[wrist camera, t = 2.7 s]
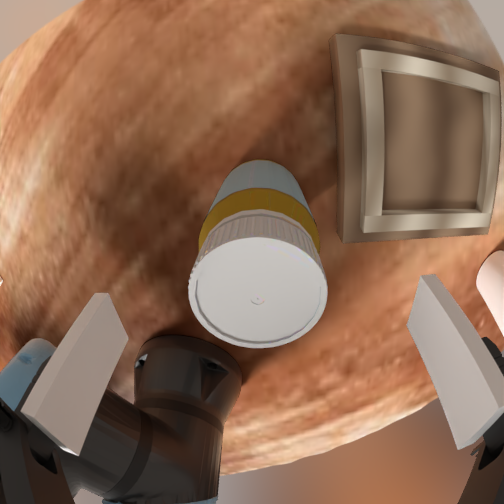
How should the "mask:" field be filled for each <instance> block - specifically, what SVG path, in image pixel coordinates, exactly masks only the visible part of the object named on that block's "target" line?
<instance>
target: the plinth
mask: <svg viewBox="0 0 504 504" xmlns="http://www.w3.org/2000/svg"><path fill="white" fill-rule="evenodd" d="M329 47H330V56H331V65H332V75H333V87H334V100H335V116H336V138H337V234H338V235H339V237H340V239H341V241H342V243H359V242H374V241H390V240H406V239H422V238H438V237H454V236H470V235H486V234H488V232H489V227H490V223H491V218H492V213H493V207H494V201H495V195H496V188H497V181H498V172H499V162H500V148H501V90H500V77H499V71H497V70H495V69H492V68H490V67H487V66H485V65H482V64H479V63H477V62H474V61H471V60H468V59H465V58H462V57H459V56H456V55H453V54H449V53H446V52H442V51H439V50H435V49H431V48H427V47H423V46H419V45H414V44H409V43H405V42H399V41H394V40H388V39H382V38H375V37H367V36H358V35H348V34H335V35H334V36H333V37H332V38H330V39H329Z"/></svg>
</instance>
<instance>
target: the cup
mask: <svg viewBox="0 0 504 504" xmlns="http://www.w3.org/2000/svg"><path fill="white" fill-rule="evenodd" d="M476 285H477V288H478V290H479V292H480V293H481V295H482V297H483V299H484V300H485V302H486V304H487V306H488V307H489V309H490V311H491V313H492V315H493V317H494V318H495V320H496V322H497V324H498V326H499V328H500V330H501V332H502V334H503V336H504V251H501V250H500V251H496V252H494V253H492V254H491V255H490V256H489V257H488V258H487V259H486V260H485V261H484V263H483V264H482V266H481V268H480V270H479V272H478V275H477V280H476Z"/></svg>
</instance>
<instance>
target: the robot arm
mask: <svg viewBox="0 0 504 504" xmlns="http://www.w3.org/2000/svg"><path fill="white" fill-rule="evenodd" d="M407 327H408V329H409V332H410V334H411V336H412V338H413V340H414V342H415V344H416V346H417V348H418V350H419V352H420V355H421V357H422V359H423V361H424V363H425V366H426V368H427V370H428V372H429V375H430V377H431V379H432V382H433V384H434V387H435V389H436V391H437V394H438V396H439V399H440V401H441V404H442V407H443V409H444V412H445V414H446V417H447V420H448V423H449V426H450V428H451V431H452V434H453V437H454V440H455V443H456V446H457V449H458V450H459V449H461V448H464V447H466V446H468V445H470V444H473V443H474V442H475V441H476V440H477V439H479V438H480V437H481V436H482V435H483V437H484V441H483V442H482V443H480V444H479V445H478V446H477V447H476V448H475V449H474V450H473V451H472V453H471V455H474V454H475V453H476V452H477V451H479V452H478V454H477V455H476V457H477V458H476V461H475V464H474V466H473V469H472V472H471V474H470V477H469V479H468V482H467V484H466V486H465V489H464V491H463V493H462V496H461V498H460V500H459V502H458V504H504V357H502V354H501V352H500V351H499V349H498V348H497V346H496V345H495V344H494V343H493V342H492V341H491V340H490V339H488V338H487V337H484V338H480V336H479V334H478V333H477V331H476V330H475V328H474V327H473V325H472V324H471V322H470V321H469V319H468V318H467V317H466V315H465V314H464V312H463V311H462V309H461V308H460V307H459V305H458V304H457V302H456V301H455V300H454V298H453V297H452V296H451V294H450V293H449V292H448V290H447V289H446V288H445V286H444V285H443V284H442V282H441V281H440V280H439V279H438V277H437V276H436V275H435V274H431V275H422V276H420V279H419V283H418V287H417V291H416V295H415V299H414V302H413V306H412V309H411V313H410V316H409V319H408V323H407ZM128 339H129V338H128V336H127V334H126V331H125V329H124V327H123V325H122V323H121V321H120V319H119V316H118V314H117V312H116V310H115V307H114V305H113V303H112V300H111V298H110V296H109V293H95V294H94V295H93V296H92V298H91V299H90V301H89V302H88V303H87V305H86V306H85V308H84V309H83V310H82V312H81V313H80V315H79V316H78V317H77V319H76V320H75V322H74V323H73V325H72V326H71V328H70V329H69V331H68V332H67V334H66V335H65V337H64V338H63V340H62V341H61V343H60V344H59V346H58V347H57V348H56V347H55V346H54V345H53V344H52V343H50V342H49V341H47V340H45V339H42V338H35V339H32V340H30V341H29V342H27V343H26V344H25V345H24V346H23V347H22V348H21V350H20V351H19V352H18V353H17V354H16V355H15V356H14V357H13V358H12V359H11V360H10V362H9V363H8V364H7V365H6V366H5V367H4V368H3V370H2V371H1V372H0V504H75V502H74V500H73V498H74V497H75V495H76V494H77V492H78V491H79V490H80V489H81V488H83V489H85V490H87V491H89V492H91V493H94V494H96V495H98V496H100V497H103V498H104V499H103V500H102V503H103V504H216V501H217V500H218V485H219V474H220V462H221V450H222V438H223V429H224V424H225V422H226V420H227V418H228V416H229V414H230V412H231V410H232V409H233V407H234V405H235V403H236V401H237V399H238V397H239V395H240V391H241V383H242V373H241V369H240V367H239V365H238V364H237V362H236V361H235V360H234V359H233V358H232V357H231V356H230V355H229V354H228V353H227V352H225V351H224V350H222V349H221V348H219V347H217V346H215V345H213V344H211V343H209V342H206V341H203V340H200V339H197V338H193V337H188V336H179V335H167V336H160V337H156V338H154V339H151V340H149V341H148V342H146V343H145V344H144V345H143V346H142V347H141V349H140V351H139V353H138V356H137V358H136V361H135V365H134V397H135V401H134V405H133V404H131V403H130V402H128V401H127V400H125V399H124V398H122V397H121V396H119V395H118V394H116V393H115V392H113V391H112V390H111V389H109V388H108V387H107V385H108V382H109V380H110V378H111V376H112V373H113V371H114V369H115V367H116V365H117V362H118V360H119V358H120V356H121V354H122V352H123V350H124V348H125V345H126V343H127V341H128Z"/></svg>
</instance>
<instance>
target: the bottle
mask: <svg viewBox="0 0 504 504" xmlns="http://www.w3.org/2000/svg"><path fill="white" fill-rule="evenodd" d="M319 252H320V240H319V234H318V230H317V226H316V223H315V221H314V218H313V216H312V214H311V211H310V209H309V207H308V204H307V202H306V200H305V198H304V195H303V193H302V191H301V189H300V187H299V184H298V182H297V181H296V179H295V178H294V176H293V175H292V173H291V172H290V171H289V170H287V169H286V168H285V167H284V166H282V165H281V164H279V163H276V162H273V161H271V160H262V159H256V160H251V161H247V162H244V163H242V164H240V165H239V166H237V167H236V168H234V169H233V170H232V171H231V172H230V174H229V175H228V176H227V177H226V179H225V180H224V182H223V184H222V186H221V188H220V190H219V192H218V194H217V196H216V198H215V200H214V202H213V204H212V206H211V208H210V210H209V212H208V214H207V216H206V218H205V220H204V223H203V226H202V229H201V232H200V235H199V254H198V257H197V259H196V261H195V264H194V267H193V269H192V272H191V274H190V279H189V286H188V289H189V292H188V294H189V301H190V305H191V308H192V310H193V312H194V314H195V316H196V318H197V319H198V321H199V322H200V323H201V324H202V325H203V326H204V327H205V328H206V329H207V330H208V331H209V332H210V333H212V334H213V335H215V336H216V337H218V338H220V339H222V340H224V341H226V342H228V343H231V344H234V345H237V346H242V347H248V348H270V347H276V346H280V345H284V344H287V343H289V342H292V341H294V340H296V339H298V338H299V337H301V336H303V335H304V334H305V333H307V332H308V331H309V330H310V329H311V328H312V327H313V326H314V325H315V324H316V323H317V321H318V320H319V319H320V317H321V315H322V313H323V311H324V309H325V305H326V301H327V295H328V292H327V289H328V286H327V279H326V276H325V272H324V269H323V266H322V263H321V260H320V257H319Z"/></svg>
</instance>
